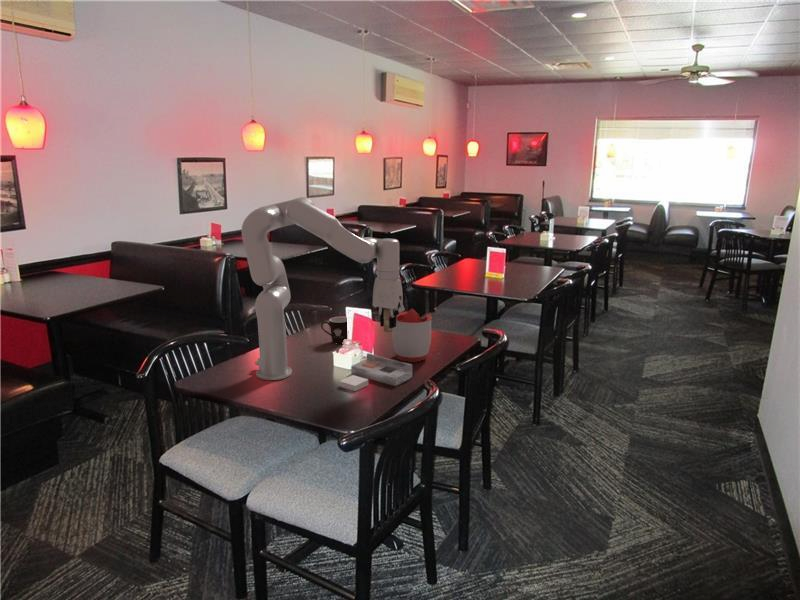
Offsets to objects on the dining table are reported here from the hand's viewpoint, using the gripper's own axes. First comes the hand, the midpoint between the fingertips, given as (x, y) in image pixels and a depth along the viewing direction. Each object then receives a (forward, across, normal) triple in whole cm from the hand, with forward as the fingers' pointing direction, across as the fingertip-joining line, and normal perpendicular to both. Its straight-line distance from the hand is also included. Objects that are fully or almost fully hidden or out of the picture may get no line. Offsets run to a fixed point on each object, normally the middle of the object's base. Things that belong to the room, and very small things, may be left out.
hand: (388, 326), depth 196 cm
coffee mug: (+19, -42, +20) cm, 50 cm away
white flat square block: (+19, -5, -13) cm, 24 cm away
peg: (+2, 0, 0) cm, 2 cm away
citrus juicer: (+20, -5, +23) cm, 31 cm away
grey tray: (+19, -3, 0) cm, 19 cm away
